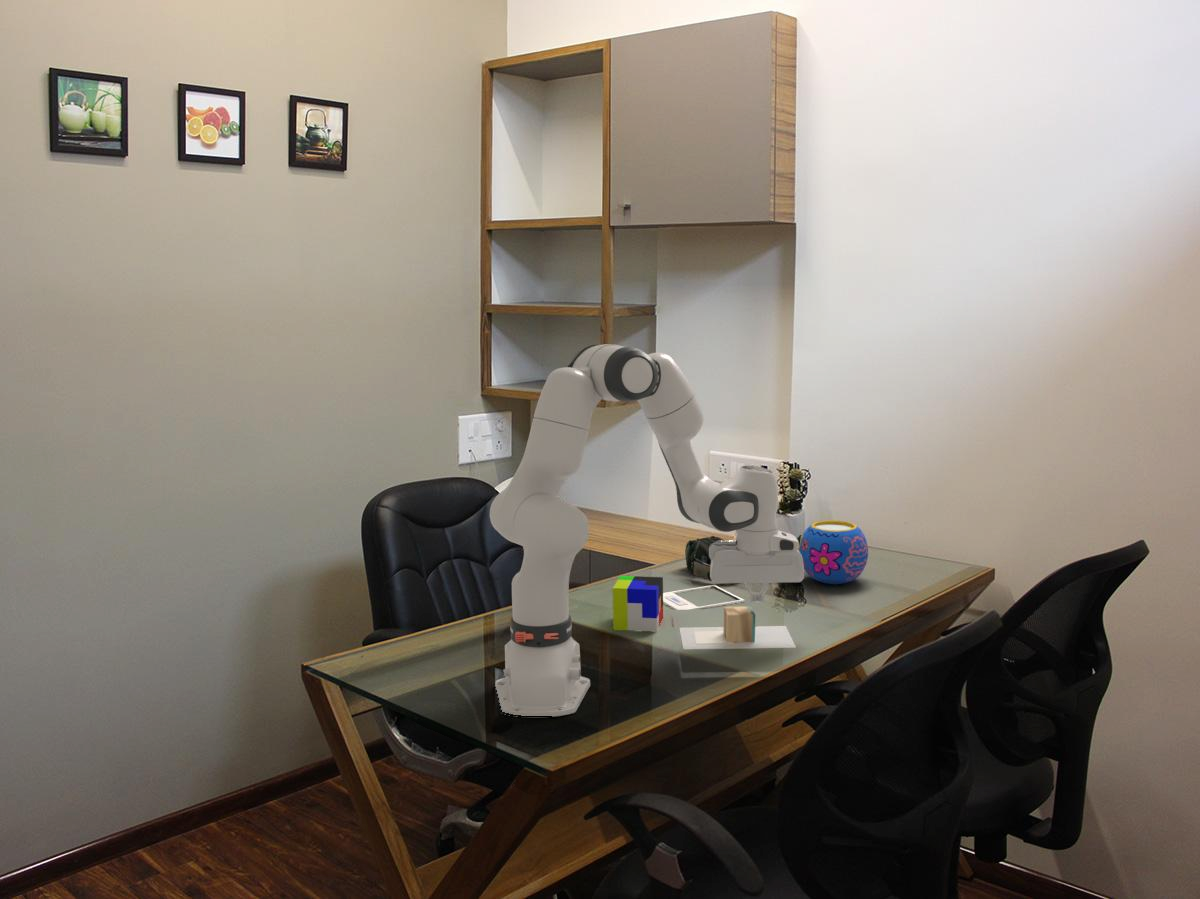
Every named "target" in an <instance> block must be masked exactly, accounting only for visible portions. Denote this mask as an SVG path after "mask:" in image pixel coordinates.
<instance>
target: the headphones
mask: <svg viewBox="0 0 1200 899" xmlns="http://www.w3.org/2000/svg"><path fill="white" fill-rule="evenodd" d="M718 540H722V541H726V540H725V539H723V538H721V537H719V536H714V535H711V536H709V537H707V536H706V537H702V538H696V539H694V540H693V539H692V540H691V539H689V540H688V541H687V543H686V545H685V548H684V549H685V550H684V551H685V555H684V556H685V564H686V565H685V566H686V568H687V570H688V571H689V572H690V574H692V575H694V576H696V577H698V578H701V579H702V580H706V581H709V582H713V581H712V580H711V578H710V566H711V559H710V557H709V547H710V545H711V544H712V543H715V542H716V541H718ZM714 545H716V544H714ZM718 584H719V585H733V584H734V583H718Z"/></svg>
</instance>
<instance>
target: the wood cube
mask: <svg viewBox="0 0 1200 899" xmlns="http://www.w3.org/2000/svg"><path fill="white" fill-rule="evenodd" d="M755 626H756V613H755V611H754V610H753V607H752V606H723V627H724V629H723V633H724V635H725V638H726V640H727V642H755Z"/></svg>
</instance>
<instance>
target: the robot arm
mask: <svg viewBox="0 0 1200 899" xmlns="http://www.w3.org/2000/svg"><path fill="white" fill-rule="evenodd" d="M602 400H604V401H608V402H623V403H632V402H638V404H639V406H640V408H641V410H642V412H643V414H644V416H645V419H646V421H647V422H648V424H649V426H650V428H651V430H652V431H653V434H654V435H655V437H656V440H657V443H658V445H659V448H660V451H661V453H662V456H663V458H664V460H665V463H666V465H667V467H668V470H669V471H670V475H671V477H672V479H673V481H674V484H675V490H676V500H677V506H678V509H679V512H680V514H681V515H682V517H684V518H685V519H686V520H688V521H690V522H692V523H696V524H701V525H703V526H705V527H708V528H711V529H714V530H716V531H719V532H722V533H723V532H725V533H728V532H733V531H736V539H732V540H725V541H722V540H718V541H716V542H715V543H712V544H711V545H710V547H709V557H710V559H711V566H710V578H711V580H712V581H711V582H712V583H714V584H719V583H733V584H744V587H745V589H746V590H747V592H748V594H749V602H750V603H764V601H765V600H764V599H765V595H766V593H767V591H768V590H769V588H770V583H801V582H802V581H803V580H804V579H805V570H804V564H803V558H802V555H801V554H800V552H799V550H798V549H799V542H798V540H797V536H795V535H793V534H792V533H788V532H786V531H781V530H779V529H778V528H779V526H778V525H779V524H778V521H777V513H778V508H779V488H778V481H777V477H776V475H775V473H774V471H772V470H771V469H768V468H767V467H766V468H765V467H761V466H757V465H756V466H755V465H743V466H740V468H739V469H738V471H737V472H736V473H735V474H734V475H733V476H731V477H730V478H728V479H727V480H725V481H723V482H718V481H715V480H713V479H711V478H710V477H709V476H707V475H706V474H705V473H704V472H703V470H702V469H701V467H700V464H699V462H698V460H697V457H696V455H695V452H694V450H693V447H692V444H691V440H692V439H694V438H695V437H696V436H697V435H698V434H699V432H700V431H701V429H702V426H703V423H704V415H703V411H702V407H701V404H700V402H699V399H698V397H697V396H696V394H695V391H694V390H693V388H692V385H691V383H690V381H688V379H687V377H686V376H685V374H684V372H683V371H682V370H681V368H680V366H679V365H678V364H677V362H676V361H675V360H674V359H673V358H672V356H670V355H669V354H667V353H664V352H651V353H649V354H647V353H646V352H644V351H643V350H642V349H640V348H637V347H634V346H622V345H620V344H614V343H610V344H609V343H608V344H607V343H606V344H592V345H588V346H586V347H583V348H581V349H580V350H579V351H578V352H577V353H576V354H575V355H574V356H573V358H572V359H571V361H570V363H569V364H568V365H567V366H566V367H565V366H564V367H558V368H556V369H554V370H553V371H552V372H550V373H549V374H548V376H547V378H546V380H545V383H544V385H543V387H542V390H541V392H540V395H539V397H538V401H537V404H536V406H535V410H534V415H533V419H532V423H531V427H530V431H529V434H528V439H527V442H526V446H525V450H524V452H523V456H522V458H521V461H520V463H519V466H518V468H517V469H516V472H515V473H514V475H513V476H512V478H511V480H510V482H509V484H508V485H507V486H506V488H505V489H503V490H502V491H501V492H499V493H498V494H497V495H496V496H495V497H494V499H493V500H492V502H491V504H490V508H489V519H490V520H489V521H490V523H491V526H492V527H493V528H494V530H495V531H496V532H498V533H499V535H501V536H502V537H503V538H504V539H506V540H507V541H509V542H511V543H514V544H517V545H519V546H522V548H523V559H522V564H521V568H520V570H519V571H518V572H517V573H516V574H515V575H514V576H513V577H512V580H511V604H512V605H511V606H512V616H511V617H510V624H509V625H510V626H509V628H510V629H509V631H510V640H509V641H508V642H506V644H504V661H505V662H504V665H505V666H504V667H505V668H503V670H502V675H503V677H502V678H500V679H497V680H496V681H495V686H494V687H496V688H495V691H496V690H497V692H496V695H497V694H498V696H497V699H498V698H499V700H498V703H500V704H499V706H501V708H500V711H501V710H502V712H505V713H509V714H513V715H521V716H552V717H561V716H566V715H571V714H575V713H576V712H577V711H578V708H579V707H580V705H581V703H582V701H583V699H584V698H585V696H586V693H587V692H588V690H589V688H590V687H591V680H590V678H588V677H585V676H582V670H581V669H582V668H581V652H580V643H578V642H577V641H576V640H575V639H574V638H573V637H572V634H573V633H572V631H573V630H572V628H573V624H572V616H571V615H570V614H569V613H570V612H569V609H570V608H569V606H570V604H569V603H570V602H569V596H570V595H569V590H570V588H569V587H570V586H569V584H570V574H571V570H572V565H573V564H574V560H575V557H576V555H578V553H579V552H581V550H583V549H584V547H585V545H586V543H587V542H588V539H589V535H590V523H589V520H588V517H587V516H586V514H585V512H583V511H582V510H581V509H580V508H578V507H577V506H576V505H575V504H573V503H572V502H570V501H568V500H566V499H563V498H560V497H559V495H560V493H561V491H562V489H563V487H564V486H565V484H566V482H567V481H568V480H569V479H571V477H572V476H574V475H575V474H576V473H578V471H579V470H580V468H581V466H582V460H583V456H584V453H585V447H586V444H587V440H588V436H589V432H590V426H591V422H592V415H593V413H594V411H595V409H596V408H597V405H598V404H599V403H600V402H601V401H602ZM714 544H716V545H714ZM756 583H757V584H761V585H762V586H761V587H762V588H761V589H760V591H759V592H756V591H755V592H753V591H752V589H751V588H752V587H753V584H756ZM502 712H501V713H502Z"/></svg>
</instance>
